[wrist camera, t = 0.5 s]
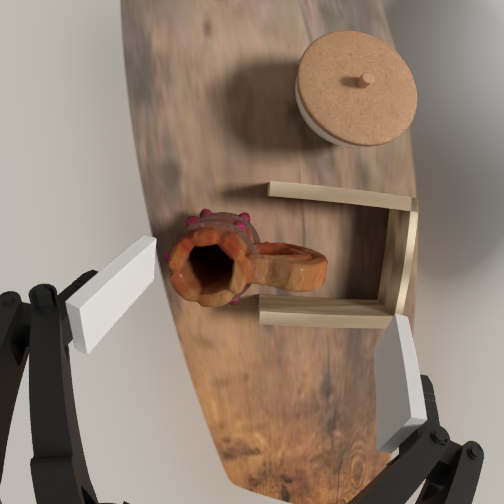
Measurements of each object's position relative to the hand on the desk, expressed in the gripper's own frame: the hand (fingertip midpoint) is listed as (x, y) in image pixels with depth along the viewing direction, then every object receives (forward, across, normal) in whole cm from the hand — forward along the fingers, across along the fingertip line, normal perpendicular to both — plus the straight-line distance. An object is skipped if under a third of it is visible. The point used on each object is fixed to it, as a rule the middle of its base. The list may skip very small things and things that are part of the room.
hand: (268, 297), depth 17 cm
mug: (+21, -5, -8) cm, 23 cm away
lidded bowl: (+28, +1, +10) cm, 30 cm away
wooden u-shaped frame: (+23, +5, -7) cm, 24 cm away
